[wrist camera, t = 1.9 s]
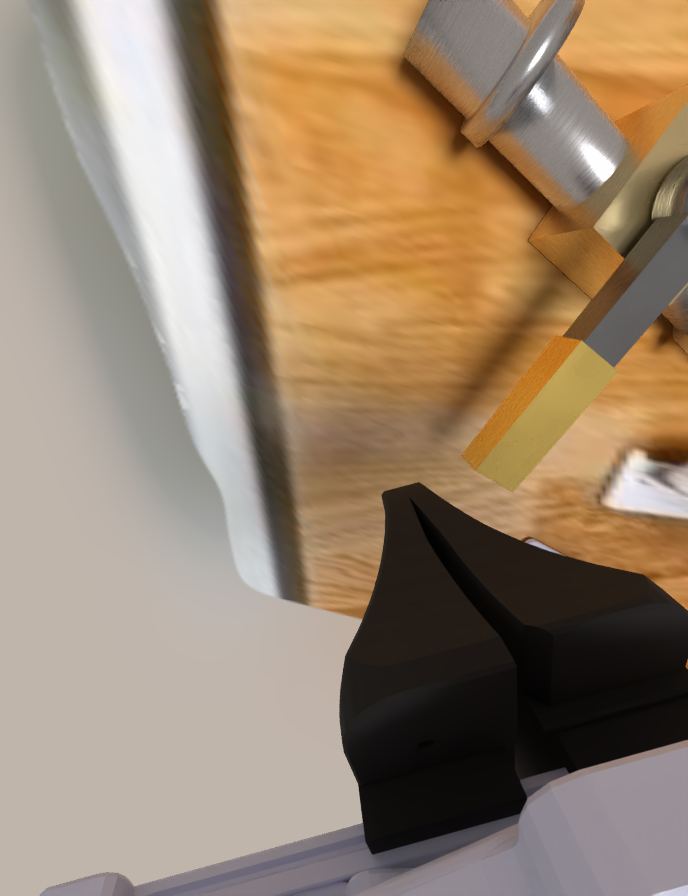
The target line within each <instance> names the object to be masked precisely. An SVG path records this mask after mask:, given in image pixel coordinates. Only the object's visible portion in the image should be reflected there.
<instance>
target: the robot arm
mask: <svg viewBox="0 0 688 896" xmlns="http://www.w3.org/2000/svg"><path fill="white" fill-rule="evenodd" d="M382 500H383V505H384V509H385V537H384V545H383V553H382V559H381V564H380V568H379V572H378V576H377V580H376V583H375V587H374V590H373V593H372V596H371V599H370V602H369V605H368V607H367V610H366V612H365V615H364V617H363V620H362V623H361V625H360V627H359V629H358V631H357V633H356V636H355V637H354V639H353V641H352V643H351V645H350V648H349V649H348V651H347V654H346V656H345V662H344V668H343V674H342V682H341V690H340V727H341V736H342V744H343V749H344V753H345V756H346V758H347V760H348V762H349V764H350V767H351V769H352V771H353V773H354V776H355V778H356V780H357V782H358V786H359V794H360V803H361V811H362V818H363V823H362V824H358V825H354V826H351V827H347V828H344V829H340V830H337V831H333V832H329V833H326V834H322V835H318V836H315V837H311V838H308V839H304V840H300V841H297V842H294V843H289V844H286V845H282V846H279V847H275V848H271V849H268V850H264V851H261V852H257V853H254V854H250V855H246V856H243V857H239V858H236V859H232V860H228V861H225V862H221V863H218V864H214V865H210V866H207V867H203V868H199V869H196V870H192V871H188V872H185V873H181V874H178V875H174V876H170V877H167V878H164V879H160V880H156V881H152V882H149V883H145V884H142V885H138V886H133V884H132V882H131V881H130V880H129V879H128V878H127V877H125V876H124V875H121V874H119V873H109V872H107V873H100V874H96V875H92V876H88V877H85V878H81V879H77V880H74V881H70V882H67V883H63V884H59V885H56V886H52V887H49V888H47V889H46V890H44V891H43V892H42V893H41V894H40V896H688V669H687V668H686V667H685V666H686V663H687V660H688V611H687V610H686V609H685V608H684V607H683V606H682V605H680V604H679V603H678V602H677V601H676V600H675V599H673V598H672V597H671V596H670V595H669V594H668V593H666V592H665V591H664V590H663V589H662V588H660V587H659V586H658V585H656V584H655V583H654V582H652V581H651V580H650V579H648V578H647V577H646V576H644V575H642V574H638V573H633V572H629V571H624V570H619V569H615V568H610V567H605V566H601V565H596V564H592V563H588V562H585V561H581V560H578V559H574V558H570V557H567V556H565V555H563V554H561V553H559V552H558V551H556V550H554V549H552V548H550V547H548V546H546V545H544V544H543V543H541V542H539V541H537V540H535V539H529V540H527V541H525V542H523V541H520V540H518V539H515V538H513V537H511V536H509V535H506V534H504V533H502V532H500V531H497V530H495V529H493V528H491V527H489V526H487V525H485V524H483V523H481V522H479V521H478V520H476V519H474V518H472V517H470V516H469V515H467V514H465V513H464V512H462V511H461V510H459V509H457V508H456V507H454V506H453V505H451V504H450V503H448V502H447V501H445V500H444V499H442V498H441V497H439V496H438V495H436V494H435V493H434V492H432V491H431V490H429V489H428V488H427V487H425V486H424V485H422V484H421V483H419V482H418V483H414V484H411V485H407V486H403V487H399V488H395V489H392V490H388V491H384V492H383V494H382Z"/></svg>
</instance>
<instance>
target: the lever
mask: <svg viewBox="0 0 688 896" xmlns="http://www.w3.org/2000/svg"><path fill="white" fill-rule="evenodd" d="M687 283H688V156H687V157H686V158H684V159H683V160H682V161H681V162H679V163H678V164H677V165H676V166H675V167H674V168H673V170H672V171H671V172H670V173H669V174H668V176H667V177H666V179H665V180H664V182H663V184H662V185H661V187H660V189H659V191H658V194H657V196H656V199H655V202H654V206H653V211H652V225H651V226H650V228H649V229H648V230H647V231H646V233H645V234H644V235H643V236H642V238H641V239H640V240H639V241H638V243H637V244H636V245H635V246H634V248H633V249H632V250H631V251H630V253H629V254H628V255H627V256H626V258H625V259H624V260H623V261H622V263H621V264H620V265H619V266H618V268H617V269H616V270H615V271H614V273H613V274H612V275H611V276H610V278H609V279H608V280H607V281H606V283H605V284H604V285H603V287H602V288H601V289H600V290H599V292H598V293H597V294H596V295H595V297H594V298H593V299H592V300H591V302H590V303H589V304H588V305H587V307H586V308H585V309H584V310H583V312H582V313H581V314H580V315H579V317H578V318H577V319H576V320H575V322H574V323H573V324H572V325H571V327H570V328H569V329H568V330H567V332H566V333H565V334H564V335H563V337H560V336H555V337H554V339H553V340H552V341H551V343H550V344H549V345H548V346H547V348H546V349H545V350H544V351H543V353H542V354H541V355H540V356H539V358H538V359H537V360H536V362H535V363H534V364H533V365H532V367H531V368H530V369H529V370H528V372H527V373H526V374H525V375H524V377H523V378H522V379H521V381H520V382H519V383H518V384H517V386H516V387H515V388H514V389H513V391H512V392H511V393H510V394H509V396H508V397H507V398H506V400H505V401H504V402H503V403H502V405H501V406H500V407H499V408H498V410H497V411H496V412H495V413H494V415H493V416H492V417H491V419H490V420H489V421H488V422H487V424H486V425H485V426H484V427H483V429H482V430H481V431H480V432H479V434H478V435H477V436H476V438H475V439H474V440H473V441H472V443H471V444H470V445H469V446H468V448H467V449H466V450H465V451H464V453H463V454H462V455H461V456H462V457H463V458H464V459H465V461H466V462H467V463H468V464H469V465H470V466H471V467H472V468H473V469H474V470H475V471H477V472H478V473H480V474H482V475H484V476H485V477H487V478H489V479H491V480H492V481H494V482H496V483H497V484H499V485H501V486H503V487H504V488H506V489H508V490H510V491H511V492H513V491H514V490H515V489H516V488H517V487H518V486H519V484H520V483H521V482H522V481H523V480H524V479H525V478H526V476H527V475H528V474H529V473H530V472H531V471H532V470H533V468H534V467H535V466H536V465H537V464H538V463H539V462H540V460H541V459H542V458H543V457H544V456H545V455H546V454H547V453H548V451H549V450H550V449H551V448H552V447H553V446H554V445H555V443H556V442H557V441H558V440H559V439H560V438H561V437H562V435H563V434H564V433H565V432H566V431H567V430H568V429H569V427H570V426H571V425H572V424H573V423H574V422H575V421H576V419H577V418H578V417H579V416H580V415H581V414H582V413H583V412H584V410H585V409H586V408H587V407H588V406H589V405H590V404H591V402H592V401H593V400H594V399H595V398H596V397H597V396H598V394H599V393H600V392H601V391H602V390H603V389H604V388H605V386H606V385H607V384H608V383H609V382H610V381H611V380H612V378H613V377H614V376H615V375H616V374H617V373H618V371H617V370H616V369H615V368H614V367H615V366H616V365H617V363H618V362H619V361H620V360H621V359H622V358H623V357H624V355H625V354H626V353H627V352H628V351H629V350H630V348H631V347H632V346H633V345H634V344H635V343H636V342H637V340H638V339H639V338H640V337H641V336H642V335H643V334H644V332H645V331H646V330H647V329H648V328H649V327H650V325H651V324H652V323H653V322H654V321H655V320H656V319H657V317H658V316H659V315H660V314H661V313H662V312H663V311H664V309H665V308H666V307H667V306H668V305H669V304H670V302H671V301H672V300H673V299H674V298H675V297H676V296H677V294H678V293H679V292H680V291H681V290H682V289H683V288H684V286H685V285H686V284H687Z"/></svg>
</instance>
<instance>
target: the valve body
mask: <svg viewBox="0 0 688 896" xmlns="http://www.w3.org/2000/svg"><path fill="white" fill-rule="evenodd" d="M584 3H585V0H541V1H540V3H539V4H538V5H537V7H536V8H535V9H534V11H533V12H532V13H531V15H530V16H529V17H528V18H527V16H526V15H525V14H524V13H523V12H522V10H521V9H520V8H519V7H518V6H517V4H516V3H515V2H514V1H513V0H429V2H428V4H427V6H426V8H425V10H424V12H423V14H422V16H421V18H420V20H419V22H418V25H417V27H416V29H415V31H414V33H413V35H412V37H411V39H410V41H409V43H408V45H407V48H406V50H405V52H404V54H403V56H404V57H405V58H406V59H407V60H408V61H409V62H410V63H411V64H412V65H413V66H414V67H415V68H416V69H417V70H418V71H419V72H420V73H421V74H422V75H423V76H424V77H425V78H426V79H427V80H428V81H429V82H430V83H431V84H432V85H433V86H434V87H435V88H436V89H437V90H438V91H439V92H440V93H441V94H442V95H443V96H444V97H445V98H446V99H447V100H448V101H449V102H450V103H451V104H452V105H453V106H454V107H455V108H456V109H457V110H458V111H459V112H460V113H461V114H462V115H463V116H464V117H465V119H464V121H463V123H462V126H461V130H460V132H461V133H462V134H463V135H464V136H465V137H466V138H467V139H468V140H469V141H470V142H471V143H472V144H473V145H474V146H475V147H476V148H478V147H481V146H482V145H484V144H485V143H486V142H487V141H489V142H490V143H491V144H492V145H493V146H494V147H495V148H496V149H497V150H498V151H499V152H500V153H501V154H502V155H503V156H504V157H505V158H506V159H507V160H508V161H509V162H510V163H511V164H512V165H513V166H514V167H515V168H516V169H517V170H518V171H519V172H520V173H521V174H522V175H523V176H524V177H525V178H526V179H527V180H528V181H529V182H530V183H531V184H532V185H533V186H534V187H535V188H536V189H537V190H538V191H539V192H540V193H541V194H542V195H543V196H544V197H545V198H546V199H547V200H548V201H549V202H550V203H551V204H552V207H551V208H550V210H549V211H548V212H547V214H546V215H545V217H544V218H543V220H542V221H541V222H540V224H539V225H538V227H537V228H536V230H535V231H534V232H533V234H532V235H531V237H530V238H529V240H528V241H529V242H530V243H531V244H532V245H533V246H534V247H536V248H537V249H538V250H539V251H540V252H541V253H542V254H543V255H544V256H545V257H546V258H548V259H549V260H550V261H551V262H552V263H553V264H554V265H555V266H556V267H557V268H558V269H560V270H561V271H562V272H563V273H564V274H565V275H566V276H567V277H568V278H569V279H570V280H571V281H573V282H574V283H575V284H576V285H577V286H578V287H579V288H580V289H581V290H582V291H583V292H585V293H586V294H587V295H588V296H589V297H590V298H591V299H593V298H594V297H595V295H596V294H597V293H598V292H599V290H600V289H601V288H602V287H603V285H604V284H605V283H606V281H607V280H608V279H609V278H610V276H611V275H612V274H613V273H614V271H615V270H616V269H617V268H618V266H619V265H620V264H621V263H622V261H623V260H624V259H625V258H626V256H627V255H628V254H629V253H630V251H631V250H632V249H633V248H634V246H635V245H636V244H637V243H638V241H639V240H640V239H641V238H642V236H643V235H644V234H645V233H646V231H647V230H648V229H649V228H650V226H651V225H652V211H653V206H654V202H655V199H656V196H657V194H658V191H659V189H660V187H661V185H662V184H663V182H664V180H665V179H666V177H667V176H668V174H669V173H670V172H671V171H672V170H673V168H674V167H675V166H676V165H677V164H678V163H679V162H681V161H682V160H683V159H684V158H686V157H687V156H688V84H687V85H685V86H683V87H681V88H679V89H677V90H675V91H673V92H672V93H670V94H668V95H666V96H664V97H662V98H660V99H658V100H656V101H654V102H652V103H650V104H648V105H647V106H645V107H643V108H641V109H639V110H637V111H635V112H633V113H631V114H629V115H627V116H625V117H624V118H622V119H620V120H618V121H616V122H614V121H613V120H612V119H611V118H610V117H609V115H608V114H607V113H606V112H605V111H604V109H603V108H602V107H601V106H600V105H599V103H598V102H597V101H596V100H595V99H594V97H593V96H592V95H591V94H590V93H589V91H588V90H587V89H586V88H585V86H584V85H583V84H582V83H581V82H580V80H579V79H578V78H577V77H576V76H575V74H574V73H573V72H572V71H571V70H570V68H569V67H568V66H567V65H566V64H565V62H564V61H563V60H562V59H561V57H560V56H559V55H558V54H557V53H558V51H559V50H560V48H561V47H562V45H563V44H564V42H565V40H566V39H567V37H568V35H569V34H570V32H571V30H572V28H573V27H574V25H575V23H576V21H577V19H578V17H579V15H580V13H581V11H582V9H583V6H584ZM662 314H663V315H664V316H665V317H666V318H667V319H668V320H669V321H670V322H671V323H672V324H673V330H672V335H673V338H674V340H675V341H676V342H677V344H679V345H680V346H681V347H682V348H683V349H684V350H685V351H686V352H687V353H688V283H687V284H686V285H685V286H684V288H683V289H682V290H681V291H680V292H679V293H678V294H677V296H676V297H675V298H674V299H673V300H672V301H671V302H670V304H669V305H668V306H667V307H666V308H665V309H664V311H663V312H662Z"/></svg>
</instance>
